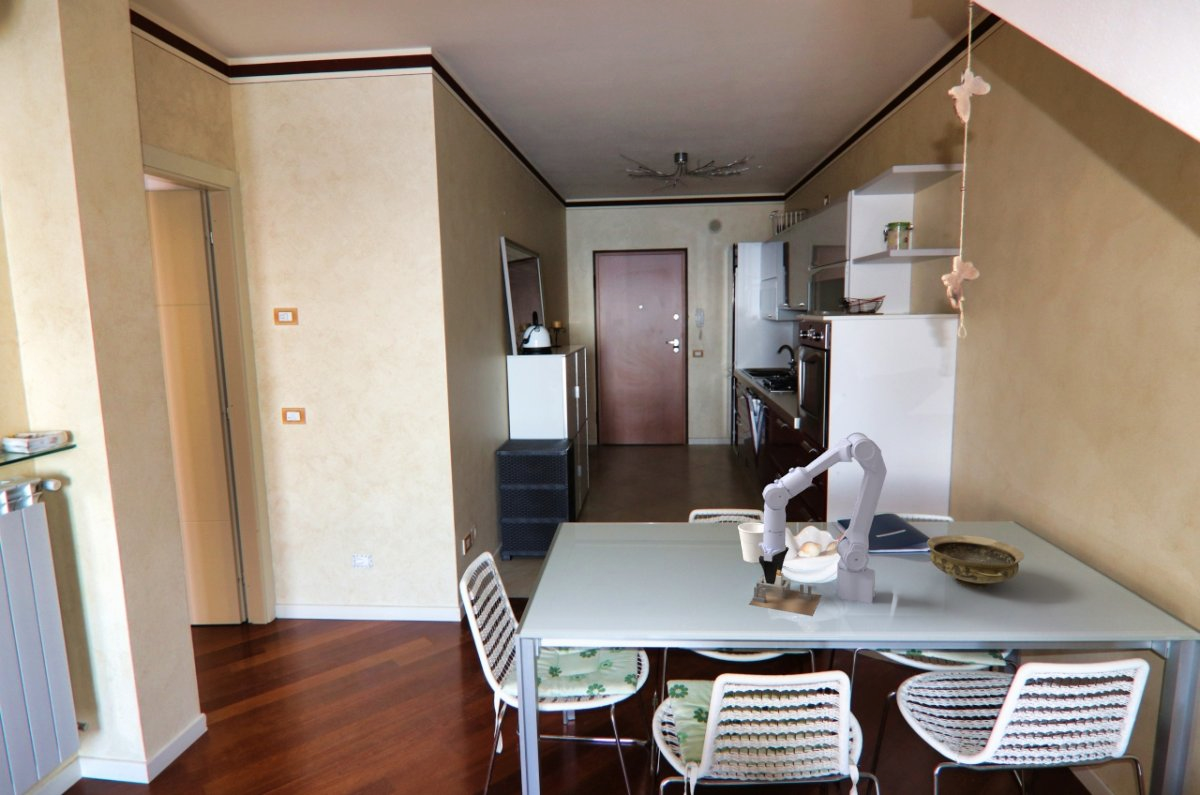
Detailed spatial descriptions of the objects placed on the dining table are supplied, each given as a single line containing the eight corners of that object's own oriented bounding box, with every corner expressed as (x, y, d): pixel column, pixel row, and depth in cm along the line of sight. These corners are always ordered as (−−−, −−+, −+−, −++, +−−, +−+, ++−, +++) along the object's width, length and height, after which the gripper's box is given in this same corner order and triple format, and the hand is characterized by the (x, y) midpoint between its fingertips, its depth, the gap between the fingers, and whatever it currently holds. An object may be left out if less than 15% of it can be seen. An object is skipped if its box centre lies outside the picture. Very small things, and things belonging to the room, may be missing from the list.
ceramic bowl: (1042, 607, 177) (1045, 570, 176) (942, 601, 182) (943, 564, 180) (998, 565, 207) (1000, 532, 205) (913, 560, 211) (914, 529, 210)
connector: (782, 591, 187) (783, 570, 186) (780, 595, 184) (780, 574, 184) (766, 588, 189) (766, 567, 188) (763, 592, 186) (763, 571, 186)
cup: (743, 554, 218) (744, 520, 217) (774, 559, 213) (775, 525, 212) (732, 564, 210) (733, 529, 209) (764, 570, 205) (765, 534, 204)
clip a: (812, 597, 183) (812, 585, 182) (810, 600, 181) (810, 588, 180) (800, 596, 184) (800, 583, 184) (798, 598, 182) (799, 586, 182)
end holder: (790, 590, 188) (790, 579, 187) (785, 599, 182) (785, 588, 182) (761, 585, 191) (762, 575, 191) (756, 594, 186) (756, 583, 185)
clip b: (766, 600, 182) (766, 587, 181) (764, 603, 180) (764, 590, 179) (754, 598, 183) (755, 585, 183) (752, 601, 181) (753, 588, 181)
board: (821, 598, 185) (821, 595, 184) (812, 619, 172) (812, 615, 172) (761, 588, 192) (761, 585, 192) (748, 608, 179) (748, 604, 179)
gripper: (765, 519, 193) (765, 566, 194) (752, 535, 180) (751, 585, 182) (791, 523, 190) (790, 570, 191) (780, 539, 177) (779, 590, 178)
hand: (773, 578), depth 186 cm, fingers open, 7 cm apart
